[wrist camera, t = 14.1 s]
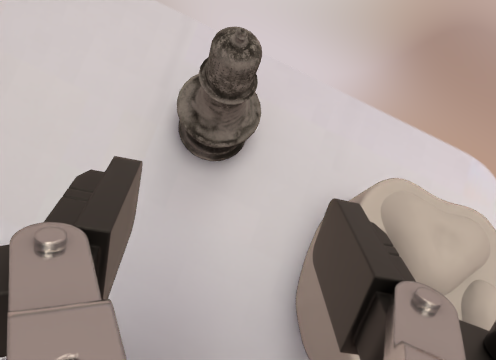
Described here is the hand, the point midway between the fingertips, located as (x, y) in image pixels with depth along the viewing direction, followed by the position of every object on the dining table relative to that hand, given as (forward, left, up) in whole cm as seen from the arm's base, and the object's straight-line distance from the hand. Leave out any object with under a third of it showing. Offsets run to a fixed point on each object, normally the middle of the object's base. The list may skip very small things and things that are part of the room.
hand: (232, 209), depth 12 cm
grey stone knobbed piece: (0, +11, -18) cm, 22 cm away
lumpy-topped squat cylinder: (+13, 0, -18) cm, 23 cm away
